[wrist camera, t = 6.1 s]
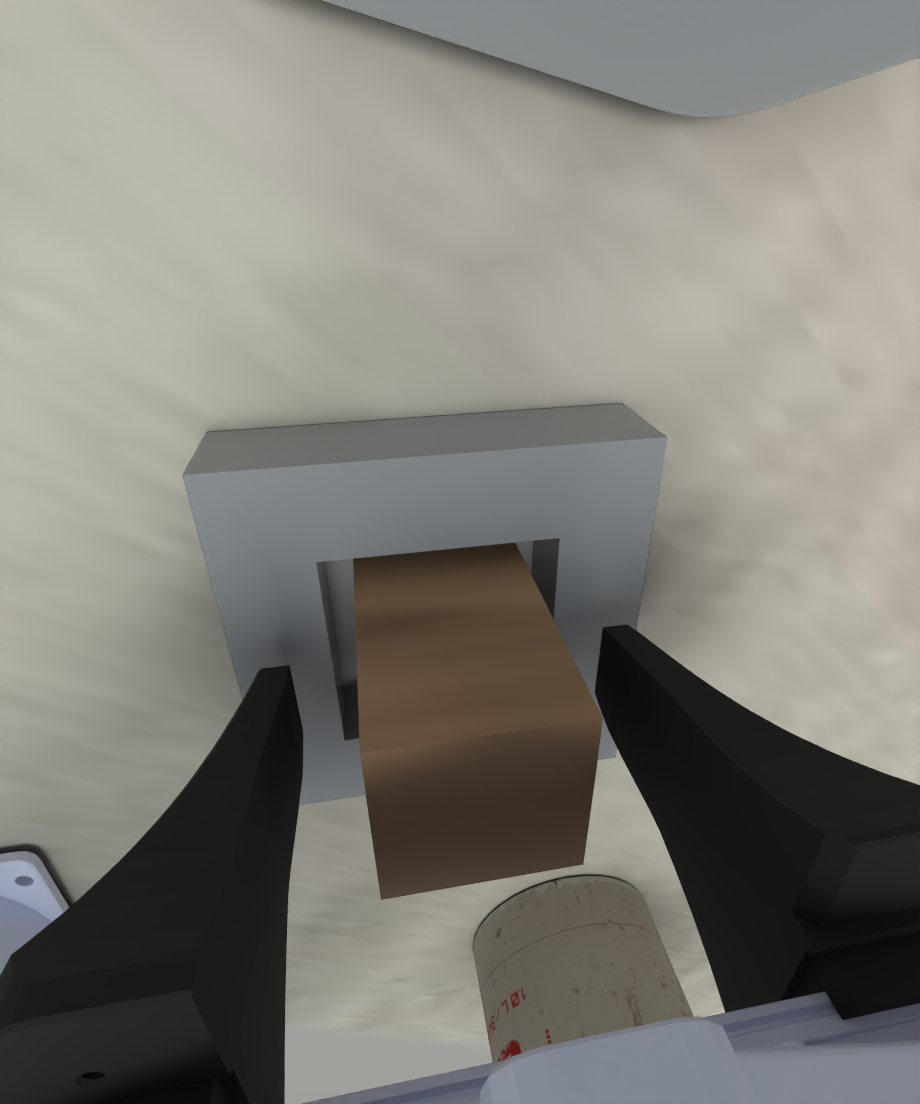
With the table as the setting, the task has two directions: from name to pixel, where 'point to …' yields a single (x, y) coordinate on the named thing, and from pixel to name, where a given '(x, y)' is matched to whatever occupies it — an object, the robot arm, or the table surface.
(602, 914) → the thermos bottle
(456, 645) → the wooden rectangular block
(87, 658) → the table surface
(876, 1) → the plastic bottle
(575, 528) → the grey flat square frame
